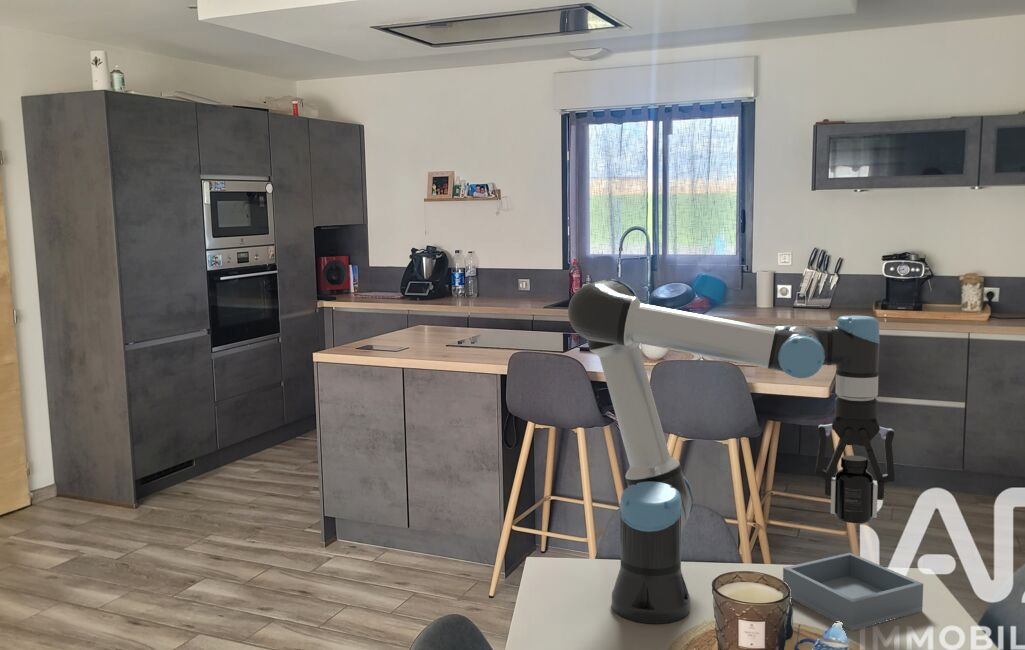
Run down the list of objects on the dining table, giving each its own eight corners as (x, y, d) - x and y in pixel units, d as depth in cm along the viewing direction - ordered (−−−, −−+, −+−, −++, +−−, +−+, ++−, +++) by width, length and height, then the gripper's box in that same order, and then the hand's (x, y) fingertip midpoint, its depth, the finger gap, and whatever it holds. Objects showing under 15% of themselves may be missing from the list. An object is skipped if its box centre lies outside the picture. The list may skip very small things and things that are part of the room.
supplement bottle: (879, 519, 165) (881, 459, 163) (858, 527, 161) (859, 464, 160) (848, 510, 170) (850, 451, 169) (826, 517, 167) (828, 457, 165)
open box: (782, 594, 172) (783, 567, 171) (849, 577, 179) (849, 552, 179) (852, 631, 156) (853, 602, 155) (922, 611, 163) (923, 583, 163)
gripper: (911, 395, 163) (907, 512, 166) (802, 390, 170) (800, 503, 173) (915, 403, 156) (910, 525, 159) (801, 397, 163) (799, 514, 166)
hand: (853, 513), depth 166 cm, fingers closed on supplement bottle, 7 cm apart
